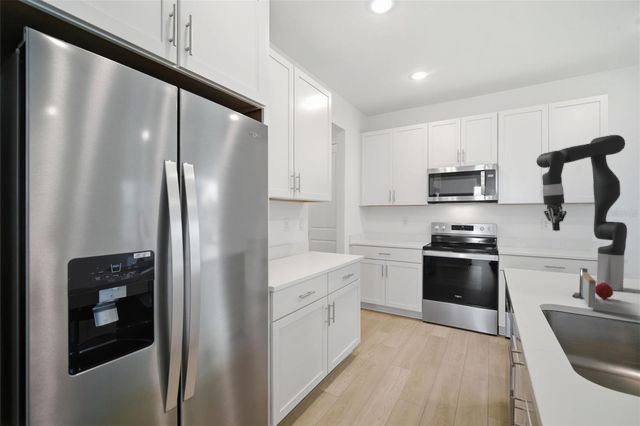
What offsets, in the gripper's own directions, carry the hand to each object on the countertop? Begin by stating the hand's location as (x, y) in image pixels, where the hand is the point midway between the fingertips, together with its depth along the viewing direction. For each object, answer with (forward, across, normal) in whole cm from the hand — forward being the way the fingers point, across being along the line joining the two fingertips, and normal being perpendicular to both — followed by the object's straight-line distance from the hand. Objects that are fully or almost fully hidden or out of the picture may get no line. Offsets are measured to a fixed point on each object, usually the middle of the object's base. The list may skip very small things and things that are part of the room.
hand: (556, 230), depth 133 cm
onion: (+31, -8, -11) cm, 34 cm away
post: (+30, -8, -4) cm, 31 cm away
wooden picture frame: (+28, -17, +1) cm, 33 cm away
